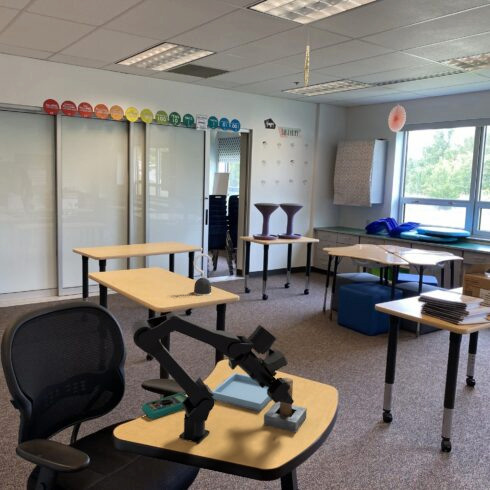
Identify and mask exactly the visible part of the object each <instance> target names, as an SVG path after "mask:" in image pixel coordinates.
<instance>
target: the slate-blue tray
mask: <svg viewBox="0 0 490 490" xmlns="http://www.w3.org/2000/svg"><path fill="white" fill-rule="evenodd" d="M268 388H269V387H266V386H264V387H263V388H262V387H261V386H260V385H259V384H258V383H257V382H256V381H255V380H253V379H252V378H251V377H250V376H249V375H248V374H243V373H238V372H234V373H232V374H231V375H229V377H227V378H226V379H225V380H223V382H220V384H218V385H217V386H216V387H215V388H214V389H213V390H211V391H212V393H213V394H214V396H212V397H213V399H214V401H218V402H222V403H225V404H229V405H234V406H237V407H241V408H246V409H249V410H254V411H258V412H262V410H264V409H265V407H267V405H268V404H269V403H270V402H271V401H273V400H272V399H271V398H270V397H269V396H268V395H267V389H268Z"/></svg>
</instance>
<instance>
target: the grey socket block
mask: <svg viewBox="0 0 490 490" xmlns="http://www.w3.org/2000/svg"><path fill="white" fill-rule="evenodd" d="M306 418H307V408H306V407H303V406H298V405H294V404H292V416H291V417H288V416H284V415H280V402H277V403H275V402H274V403H273V404H272V405H271V406H270V408H269V409H268V410H267V411H266V412H265V413H264V415H263V425H264V426H269V427H273V428H276V429H281V430H285V431H289V432H293V433H296V432H297V431H298V430H299V428H300V427H301V425H302V424H303V423H304V422H305V420H306Z"/></svg>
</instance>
